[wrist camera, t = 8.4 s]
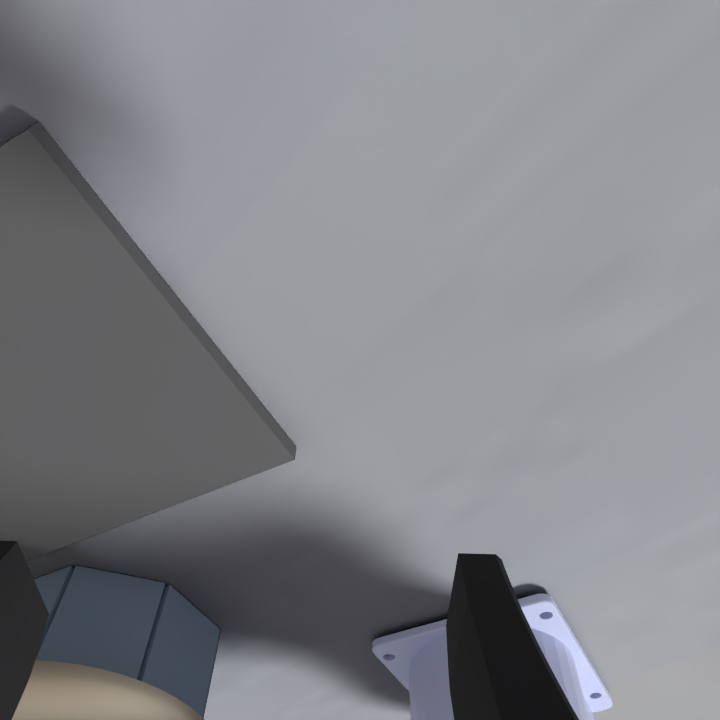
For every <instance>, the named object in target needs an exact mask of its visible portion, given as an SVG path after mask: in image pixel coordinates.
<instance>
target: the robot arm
mask: <svg viewBox="0 0 720 720" xmlns="http://www.w3.org/2000/svg"><path fill="white" fill-rule="evenodd" d="M48 617H49V613H48V610H47V608H46V606H45V604H44V601H43V599H42V597H41V594H40V592H39V590H38V588H37V585H36V583H35V581H34V578H33V576H32V574H31V572H30V569H29V567H28V565H27V563H26V560H25V558H24V556H23V553H22V551H21V549H20V547H19V544H18V542H17V541H0V720H12V718H13V715H14V713H15V711H16V708H17V706H18V704H19V702H20V699H21V697H22V695H23V692H24V690H25V688H26V685H27V683H28V681H29V678H30V675H31V672H32V669H33V666H34V663H35V660H36V657H37V654H38V651H39V647H40V644H41V641H42V637H43V634H44V630H45V627H46V624H47V620H48ZM372 652H373V653H374V655H375V656H376V657H377V658H378V659H379V660H380V661H381V662H382V663H383V664H384V665H385V666H386V667H387V669H388V670H389V671H390V672H391V673H392V674H393V675H394V676H395V677H396V678H397V679H398V680H399V681H400V683H401V684H402V685H403V686H404V687H405V688H406V689H407V690H408V691H409V692H410V715H411V720H594V716H593V712H598V711H602V710H606V709H609V708H610V707H611V706H612V700H611V696H610V694H609V693H608V691H607V689H606V688H605V686H604V684H603V682H602V681H601V679H600V677H599V676H598V674H597V672H596V671H595V669H594V667H593V666H592V664H591V662H590V661H589V659H588V657H587V655H586V654H585V652H584V650H583V649H582V647H581V645H580V644H579V642H578V640H577V639H576V637H575V635H574V634H573V632H572V630H571V629H570V627H569V625H568V623H567V622H566V620H565V618H564V617H563V615H562V613H561V612H560V610H559V608H558V607H557V605H556V603H555V602H554V600H553V598H552V597H551V596H550V595H547V594H541V593H540V594H535V595H531V596H528V597H524V598H521V599H517V597H516V595H515V592H514V590H513V588H512V585H511V583H510V580H509V578H508V576H507V573H506V570H505V568H504V565H503V562H502V560H501V559H500V558H499V557H498V556H497V555H495V554H459V553H458V559H457V564H456V570H455V576H454V582H453V588H452V593H451V599H450V605H449V611H448V617H447V619H444V620H441V621H437V622H434V623H430V624H426V625H423V626H419V627H416V628H412V629H408V630H405V631H401V632H397V633H394V634H390V635H387V636H383V637H379V638H377V639H375V640H374V641H373V642H372Z"/></svg>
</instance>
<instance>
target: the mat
mask: <svg viewBox="0 0 720 720" xmlns="http://www.w3.org/2000/svg"><path fill="white" fill-rule="evenodd" d="M295 453H296V446H295V445H294V443H293V442H292V441H291V439H290V438H289V437H288V436H287V434H286V433H285V432H284V431H283V429H282V428H281V427H280V426H279V424H278V423H277V422H276V421H275V419H274V418H273V417H272V415H271V414H270V413H269V412H268V410H267V409H266V408H265V407H264V405H263V404H262V403H261V402H260V400H259V399H258V398H257V397H256V395H255V394H254V393H253V391H252V390H251V389H250V388H249V386H248V385H247V384H246V383H245V381H244V380H243V379H242V378H241V376H240V375H239V374H238V373H237V371H236V370H235V369H234V367H233V366H232V365H231V364H230V362H229V361H228V360H227V359H226V357H225V356H224V355H223V354H222V352H221V351H220V350H219V349H218V347H217V346H216V345H215V343H214V342H213V341H212V340H211V338H210V337H209V336H208V335H207V333H206V332H205V331H204V330H203V328H202V327H201V326H200V325H199V323H198V322H197V321H196V319H195V318H194V317H193V316H192V314H191V313H190V312H189V311H188V309H187V308H186V307H185V306H184V304H183V303H182V302H181V301H180V299H179V298H178V297H177V295H176V294H175V293H174V292H173V290H172V289H171V288H170V287H169V285H168V284H167V283H166V282H165V280H164V279H163V278H162V277H161V275H160V274H159V273H158V271H157V270H156V269H155V268H154V266H153V265H152V264H151V263H150V261H149V260H148V259H147V258H146V256H145V255H144V254H143V253H142V251H141V250H140V249H139V247H138V246H137V245H136V244H135V242H134V241H133V240H132V239H131V237H130V236H129V235H128V234H127V232H126V231H125V230H124V229H123V227H122V226H121V225H120V223H119V222H118V221H117V220H116V218H115V217H114V216H113V215H112V213H111V212H110V211H109V210H108V208H107V207H106V206H105V205H104V203H103V202H102V201H101V199H100V198H99V197H98V196H97V194H96V193H95V192H94V191H93V189H92V188H91V187H90V186H89V184H88V183H87V182H86V181H85V179H84V178H83V177H82V175H81V174H80V173H79V172H78V170H77V169H76V168H75V167H74V165H73V164H72V163H71V162H70V160H69V159H68V158H67V157H66V155H65V154H64V153H63V151H62V150H61V149H60V148H59V146H58V145H57V144H56V143H55V141H54V140H53V139H52V138H51V136H50V135H49V134H48V133H47V131H46V130H45V129H44V127H43V126H42V125H41V124H40V122H37V123H36V124H34V125H33V126H31V127H29V128H28V129H26V130H25V131H23V132H21V133H20V134H18V135H17V136H15V137H14V138H12V139H10V140H9V141H7V142H6V143H4V144H2V145H1V146H0V541H17V542H18V544H19V547H20V549H21V551H22V553H23V556H24V558H25V560H26V561H28V560H30V559H33V558H36V557H38V556H41V555H44V554H46V553H49V552H51V551H54V550H57V549H59V548H62V547H65V546H67V545H70V544H73V543H75V542H78V541H81V540H83V539H86V538H89V537H91V536H94V535H96V534H99V533H102V532H104V531H107V530H110V529H112V528H115V527H118V526H120V525H123V524H126V523H128V522H131V521H134V520H136V519H139V518H141V517H144V516H147V515H149V514H152V513H155V512H157V511H160V510H163V509H165V508H168V507H171V506H173V505H176V504H179V503H181V502H184V501H186V500H189V499H192V498H194V497H197V496H200V495H202V494H205V493H208V492H210V491H213V490H216V489H218V488H221V487H224V486H226V485H229V484H231V483H234V482H237V481H239V480H242V479H245V478H247V477H250V476H253V475H255V474H258V473H261V472H263V471H266V470H269V469H271V468H274V467H276V466H279V465H282V464H284V463H287V462H290V461H292V460H295Z"/></svg>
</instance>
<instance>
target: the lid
mask: <svg viewBox="0 0 720 720" xmlns="http://www.w3.org/2000/svg"><path fill="white" fill-rule="evenodd" d="M12 720H204V719H203V718H202V717H201V716H200V715H199V714H198V713H197V712H196V711H194V710H193V709H192V708H191V707H189V706H188V705H186V704H185V703H183V702H182V701H180V700H179V699H177V698H176V697H174V696H172V695H170V694H168V693H166V692H165V691H163V690H161V689H159V688H156V687H154V686H152V685H149V684H147V683H145V682H142V681H139V680H136V679H134V678H131V677H128V676H125V675H122V674H118V673H114V672H111V671H107V670H103V669H99V668H94V667H89V666H84V665H79V664H71V663H64V662H56V661H41V660H35V663H34V666H33V669H32V672H31V675H30V678H29V681H28V683H27V685H26V688H25V690H24V692H23V695H22V697H21V699H20V702H19V704H18V706H17V708H16V711H15V713H14V715H13V718H12Z"/></svg>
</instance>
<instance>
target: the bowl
mask: <svg viewBox="0 0 720 720" xmlns="http://www.w3.org/2000/svg"><path fill="white" fill-rule="evenodd" d="M34 581H35V583H36V585H37V588H38V590H39V592H40V594H41V597H42V599H43V601H44V604H45V606H46V608H47V610H48V613H49V617H48V620H47V624H46V627H45V630H44V634H43V637H42V641H41V644H40V647H39V651H38V654H37V657H36V660H41V661H56V662H64V663H71V664H79V665H84V666H89V667H94V668H99V669H103V670H107V671H111V672H114V673H118V674H122V675H125V676H128V677H131V678H134V679H136V680H139V681H142V682H145V683H147V684H149V685H152V686H154V687H156V688H159V689H161V690H163V691H165V692H166V693H168V694H170V695H172V696H174V697H176V698H177V699H179V700H180V701H182V702H183V703H185V704H186V705H188V706H189V707H191V708H192V709H193V710H194V711H196V712H197V713H198V714H199V715H200V716H201V717H202V718H204V713H205V708H206V703H207V698H208V693H209V688H210V683H211V678H212V673H213V668H214V663H215V658H216V653H217V648H218V643H219V638H220V634H221V632H219V631H220V629H219V628H218V627H217V626H216V625H215V624H213V623H212V622H211V621H210V620H209V619H208V618H207V617H206V616H204V615H203V614H202V613H201V612H200V611H199V610H198V609H197V608H195V607H194V606H193V605H192V604H191V603H190V602H189V601H188V600H186V599H185V598H184V597H183V596H182V595H181V594H180V593H178V592H177V591H176V590H175V589H174V588H173V587H172V586H171V585H168V586H165V583H164V582H159V581H154V580H148V579H143V578H138V577H133V576H128V575H123V574H117V573H112V572H107V571H102V570H97V569H92V568H87V567H81V566H76V567H75V569H74V568H73V567H72V566H69V567H66V568H63V569H61V570H58V571H55V572H52V573H50V574H47V575H44V576H41V577H39V578H36V579H34ZM164 586H165V587H164Z"/></svg>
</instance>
